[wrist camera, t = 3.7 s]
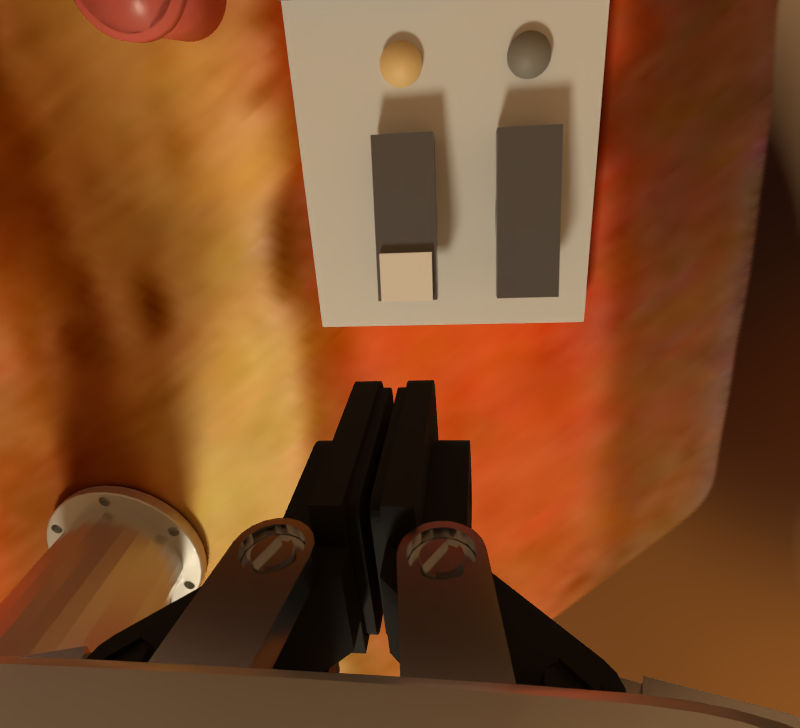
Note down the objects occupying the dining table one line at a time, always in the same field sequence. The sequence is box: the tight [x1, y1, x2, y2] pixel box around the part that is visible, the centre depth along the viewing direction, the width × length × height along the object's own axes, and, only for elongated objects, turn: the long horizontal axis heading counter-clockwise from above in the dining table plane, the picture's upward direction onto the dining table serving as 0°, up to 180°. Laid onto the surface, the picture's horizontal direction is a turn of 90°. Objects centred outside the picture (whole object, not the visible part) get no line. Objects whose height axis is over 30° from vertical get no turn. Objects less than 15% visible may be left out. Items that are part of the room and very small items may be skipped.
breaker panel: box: [280, 0, 610, 327], centre depth 28 cm, size 25×15×4 cm, turn 3°
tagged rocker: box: [370, 131, 438, 302], centre depth 30 cm, size 8×3×3 cm, turn 4°
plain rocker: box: [495, 124, 563, 298], centre depth 29 cm, size 8×3×2 cm, turn 4°
